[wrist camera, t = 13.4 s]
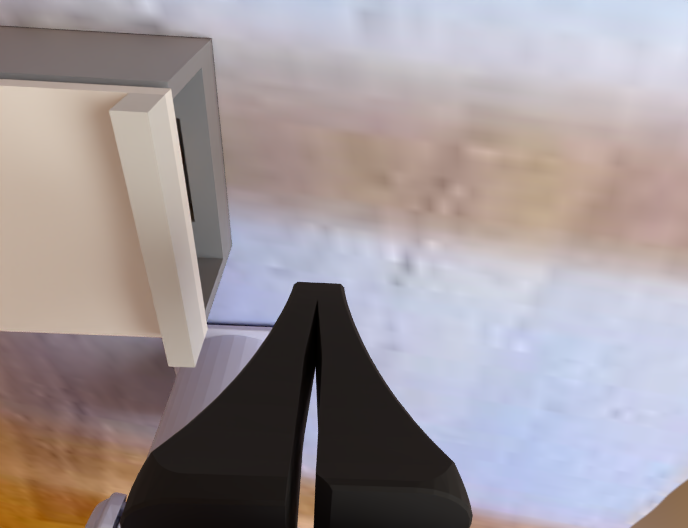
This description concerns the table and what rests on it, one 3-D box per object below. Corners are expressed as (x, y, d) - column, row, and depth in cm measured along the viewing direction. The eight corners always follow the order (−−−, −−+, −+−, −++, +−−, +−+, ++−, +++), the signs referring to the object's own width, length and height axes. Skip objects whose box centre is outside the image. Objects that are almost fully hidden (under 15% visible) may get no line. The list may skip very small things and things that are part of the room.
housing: (232, 245, 25) (205, 325, 20) (-44, 232, 25) (-137, 311, 20) (211, 38, 19) (167, 81, 15) (-150, 16, 19) (-320, 54, 14)
